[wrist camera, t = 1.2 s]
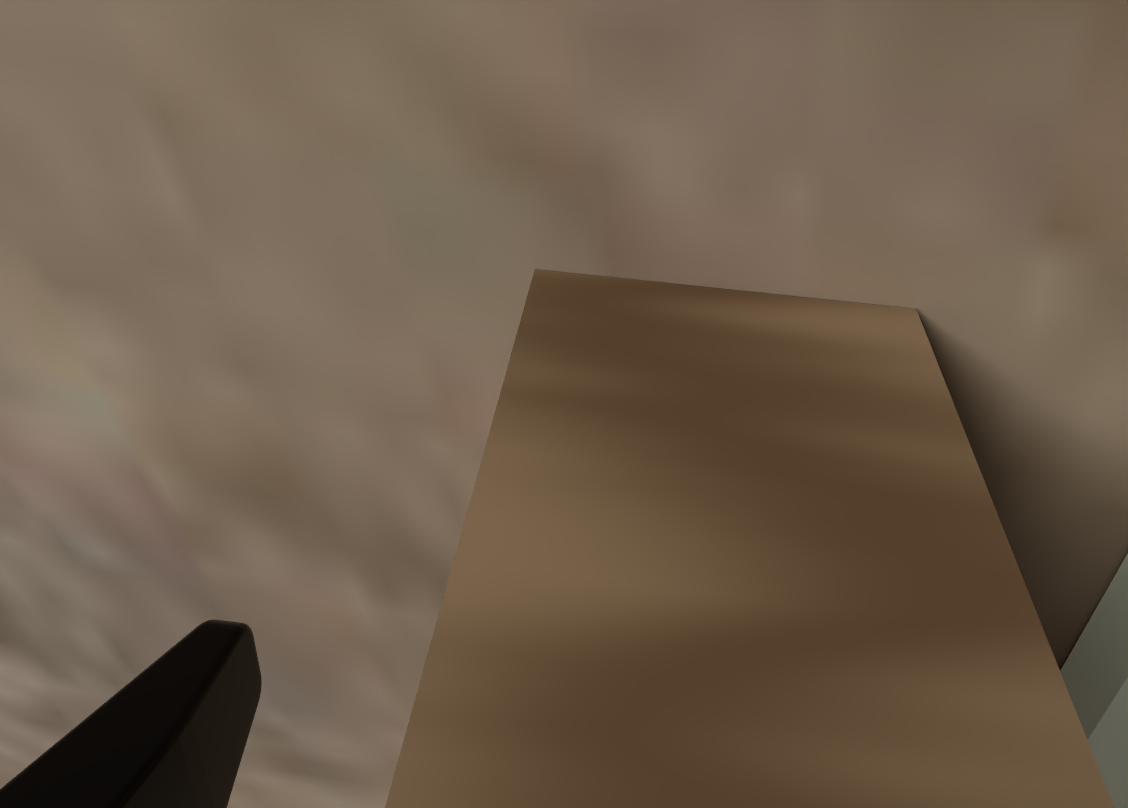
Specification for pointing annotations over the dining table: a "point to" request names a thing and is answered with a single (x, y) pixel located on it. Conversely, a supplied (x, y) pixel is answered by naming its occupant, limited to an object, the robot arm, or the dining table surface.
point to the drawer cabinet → (1104, 685)
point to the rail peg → (734, 575)
